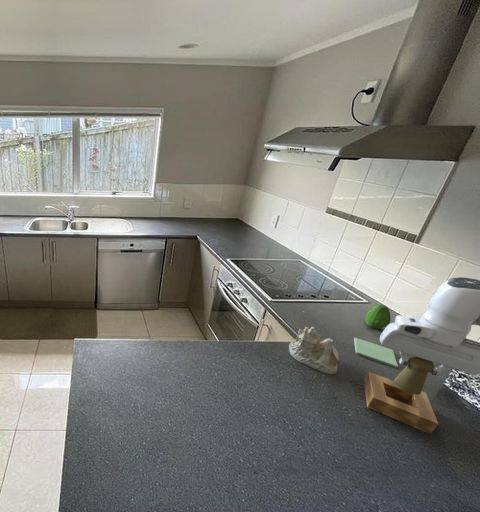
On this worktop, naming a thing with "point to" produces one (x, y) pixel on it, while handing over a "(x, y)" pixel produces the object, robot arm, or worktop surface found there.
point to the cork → (414, 375)
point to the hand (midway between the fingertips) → (417, 368)
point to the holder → (399, 403)
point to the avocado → (378, 317)
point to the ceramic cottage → (314, 351)
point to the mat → (375, 352)
